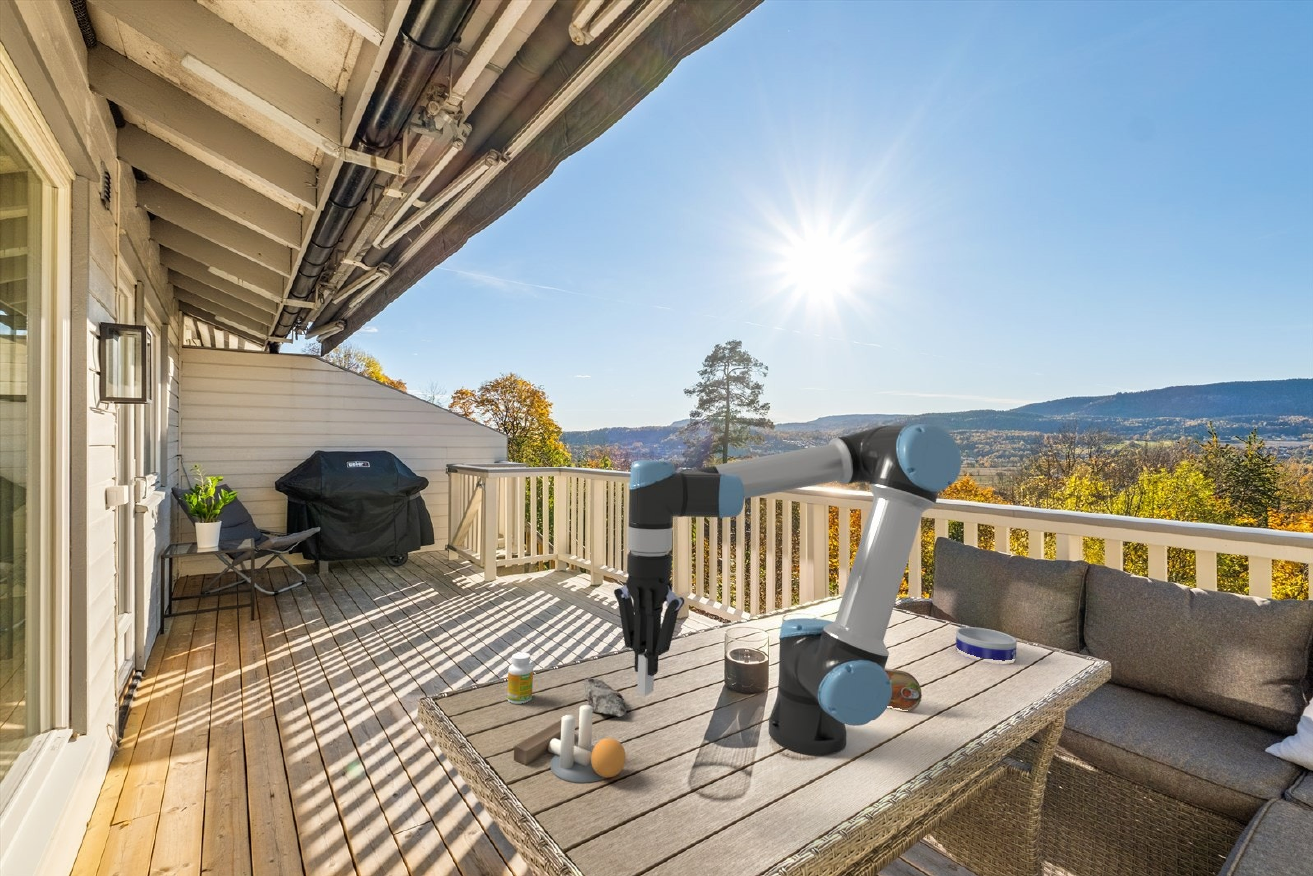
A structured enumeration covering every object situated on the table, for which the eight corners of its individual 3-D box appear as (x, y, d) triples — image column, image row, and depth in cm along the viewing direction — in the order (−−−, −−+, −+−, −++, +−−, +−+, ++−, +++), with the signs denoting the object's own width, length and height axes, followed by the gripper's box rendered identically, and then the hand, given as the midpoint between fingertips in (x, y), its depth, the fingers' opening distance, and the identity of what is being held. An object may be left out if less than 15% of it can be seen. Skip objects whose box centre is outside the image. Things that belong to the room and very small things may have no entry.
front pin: (593, 749, 105) (557, 736, 109) (585, 755, 103) (548, 741, 107) (592, 763, 105) (556, 749, 109) (584, 769, 103) (548, 754, 107)
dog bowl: (967, 643, 180) (967, 623, 180) (1023, 657, 169) (1023, 636, 169) (947, 654, 170) (947, 633, 170) (1006, 669, 158) (1006, 647, 158)
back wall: (573, 736, 114) (574, 723, 114) (525, 765, 103) (526, 751, 103) (562, 731, 116) (562, 719, 116) (513, 760, 105) (514, 746, 105)
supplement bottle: (520, 706, 126) (522, 661, 126) (501, 700, 129) (503, 656, 129) (537, 697, 131) (538, 654, 131) (518, 692, 133) (520, 649, 134)
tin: (849, 701, 135) (850, 664, 135) (851, 696, 137) (852, 660, 138) (921, 716, 128) (922, 677, 128) (921, 710, 131) (922, 672, 131)
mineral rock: (630, 720, 122) (631, 699, 122) (593, 724, 120) (593, 702, 120) (614, 692, 136) (615, 673, 136) (580, 695, 134) (581, 675, 134)
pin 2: (593, 753, 108) (595, 707, 108) (585, 759, 106) (587, 712, 106) (583, 749, 109) (585, 704, 109) (575, 755, 107) (576, 708, 107)
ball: (607, 726, 105) (601, 757, 105) (587, 741, 100) (581, 773, 100) (635, 742, 102) (628, 773, 102) (616, 757, 97) (609, 791, 97)
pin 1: (576, 765, 104) (578, 717, 104) (567, 771, 102) (569, 722, 102) (565, 761, 105) (567, 713, 105) (556, 767, 103) (558, 718, 103)
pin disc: (630, 759, 106) (631, 758, 106) (589, 791, 96) (589, 790, 96) (580, 740, 113) (580, 739, 113) (535, 767, 103) (536, 766, 103)
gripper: (694, 553, 98) (690, 695, 98) (630, 544, 105) (626, 676, 105) (671, 560, 92) (666, 711, 91) (605, 550, 99) (600, 690, 98)
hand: (645, 692), depth 98 cm, fingers closed
